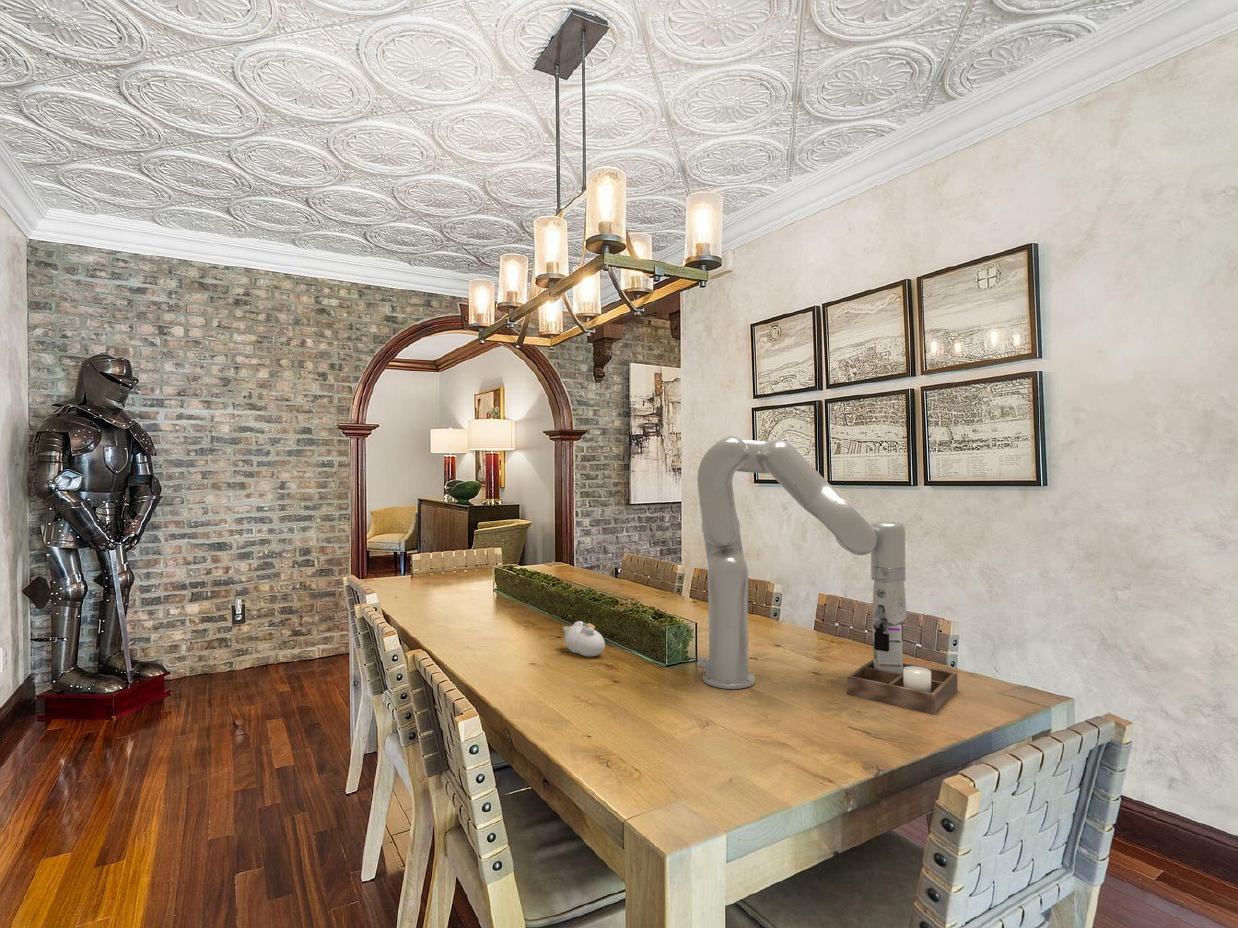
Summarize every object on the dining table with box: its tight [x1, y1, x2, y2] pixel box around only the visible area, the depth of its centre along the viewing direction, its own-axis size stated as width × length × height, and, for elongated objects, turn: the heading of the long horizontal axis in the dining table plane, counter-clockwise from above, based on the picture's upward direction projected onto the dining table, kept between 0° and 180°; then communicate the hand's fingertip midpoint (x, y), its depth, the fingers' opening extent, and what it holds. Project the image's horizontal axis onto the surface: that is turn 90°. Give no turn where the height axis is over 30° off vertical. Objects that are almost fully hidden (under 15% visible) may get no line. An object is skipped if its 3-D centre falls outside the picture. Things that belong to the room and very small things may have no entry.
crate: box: [846, 658, 959, 716], centre depth 145 cm, size 18×18×5 cm
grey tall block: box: [872, 620, 904, 674], centre depth 151 cm, size 6×6×14 cm
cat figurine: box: [562, 620, 606, 658], centre depth 180 cm, size 10×8×15 cm
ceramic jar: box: [903, 666, 931, 693], centre depth 139 cm, size 6×6×7 cm
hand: (888, 645), depth 151 cm, fingers open, 9 cm apart
